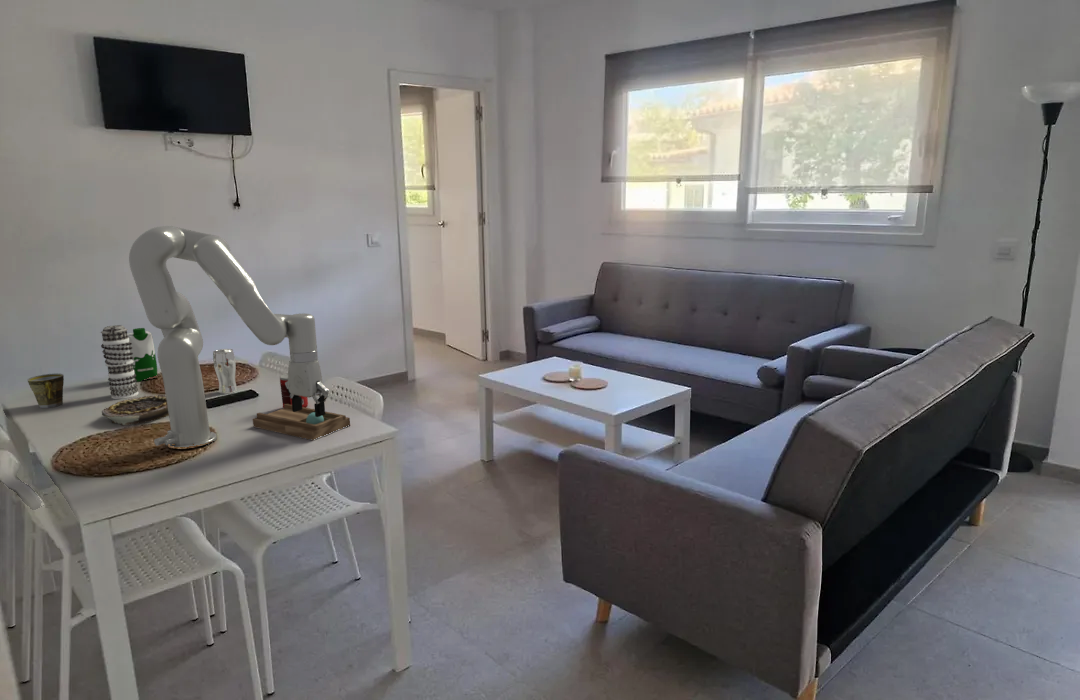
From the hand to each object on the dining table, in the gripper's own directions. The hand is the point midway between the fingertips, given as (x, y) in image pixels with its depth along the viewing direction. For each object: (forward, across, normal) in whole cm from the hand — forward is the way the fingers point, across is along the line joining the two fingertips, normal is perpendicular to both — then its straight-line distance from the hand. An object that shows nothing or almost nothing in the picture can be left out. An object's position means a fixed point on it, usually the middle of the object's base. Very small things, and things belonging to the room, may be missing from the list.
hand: (308, 413), depth 199 cm
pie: (+6, -60, -16) cm, 62 cm away
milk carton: (+6, -106, +11) cm, 107 cm away
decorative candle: (+6, -89, -6) cm, 89 cm away
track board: (+5, -4, 0) cm, 6 cm away
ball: (+2, +1, +1) cm, 3 cm away
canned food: (+5, -21, +12) cm, 25 cm away
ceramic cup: (+7, -99, -24) cm, 103 cm away
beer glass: (+6, -59, +14) cm, 61 cm away
